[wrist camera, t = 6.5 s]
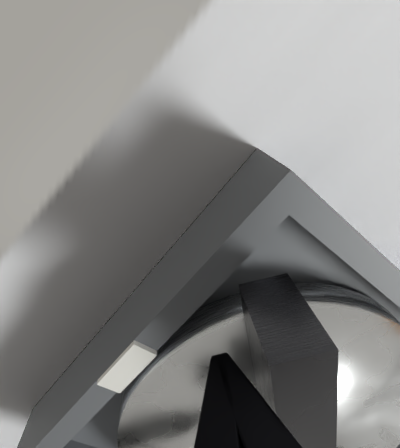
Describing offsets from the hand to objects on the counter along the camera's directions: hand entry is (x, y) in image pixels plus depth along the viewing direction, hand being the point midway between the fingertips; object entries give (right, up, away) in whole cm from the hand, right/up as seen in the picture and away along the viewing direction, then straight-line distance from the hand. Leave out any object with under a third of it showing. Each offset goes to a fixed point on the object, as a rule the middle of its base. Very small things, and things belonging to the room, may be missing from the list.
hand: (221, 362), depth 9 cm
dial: (+3, -4, +6) cm, 8 cm away
